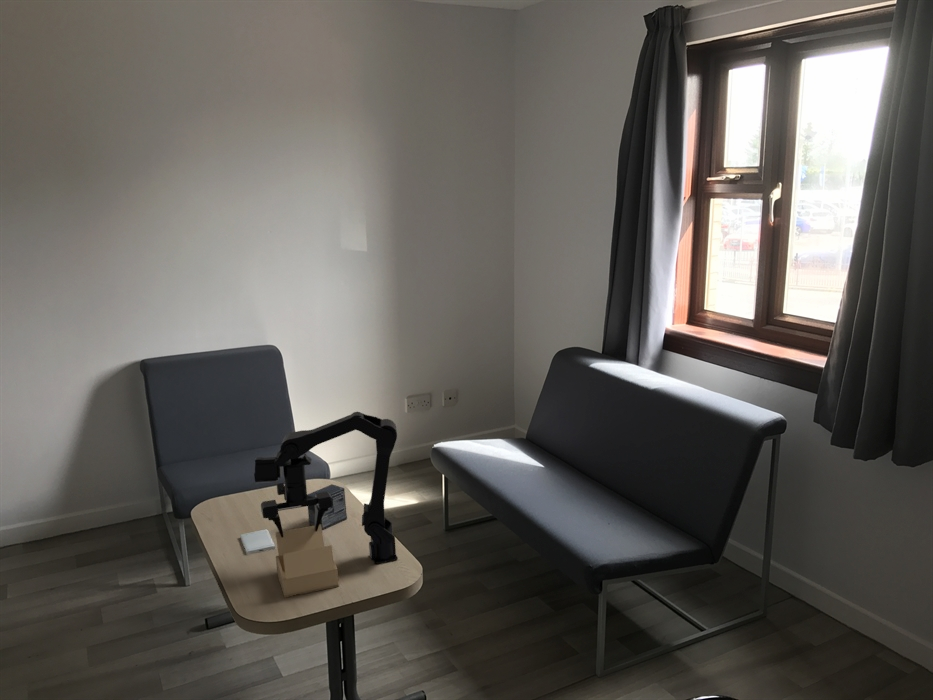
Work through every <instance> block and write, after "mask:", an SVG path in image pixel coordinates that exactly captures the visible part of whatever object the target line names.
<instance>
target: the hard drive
mask: <svg viewBox="0 0 933 700" xmlns="http://www.w3.org/2000/svg"><path fill="white" fill-rule="evenodd" d="M240 540H241V542H242V545H243V549H244V548H245V549H244V551H245V554H246V555H247V554H249V555H253V554H257V553H261V552H267V551H266V550H268V551H272V550H276V549H275V548H276V544H275V543H274V540H273V538H272V536H271V533H270V532H269V530H268V529H261V530H255V531H252V532H247V533H242V534H240ZM271 549H272V550H271Z"/></svg>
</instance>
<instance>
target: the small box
mask: <svg viewBox="0 0 933 700" xmlns="http://www.w3.org/2000/svg"><path fill="white" fill-rule="evenodd" d="M321 492H329V493H330V495H331V497H332V500H333V507H331V508H328V511H325V513H324V515H323V517H322V519H321V521H320V524H321V528H322V531H325V530H326V529H328V528H330V527H333V526H335V525H337V524H339V523H342V522H344V521H345V520H347V519H348V515H347V506H346V505H347V504H346V492H345V487H342V486H339V485H336V484H330V485H326V486H324V487H322V488H320V489H317V490H315V491H313V492H310V493H307V499H310V498H315V493H321ZM307 512H308V513H307V515H308V523H309V526H315V505H311V506H307ZM320 524H319V525H320ZM309 526H308V527H309Z"/></svg>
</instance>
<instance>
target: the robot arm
mask: <svg viewBox="0 0 933 700" xmlns="http://www.w3.org/2000/svg"><path fill="white" fill-rule="evenodd" d="M397 430H398V429H397V425H396V423H395V422H394V421H393V420H391V419H389V418H383V419H382V418H379V417H378V416H373V415H369V414H366V413H365V414H364V413H363V412H360V411H354V412H352V413H351V414H349V415H346V416H343V417H341V418H338V419H336V420H334V421H331V422H329V423H326V424H323V425H321V426H317V427H315V428H313V429H308V430H297V431H293V432H289V433H287V434H285V436H284V437H283V439H282V442H281V444H280V450H278V452H277V454H276V456H271V457H262V456H260V457H259V456H258V457H255V460H254V463H255V465H254V473H253V476H254V477H253V479H254V482H255V484H264V483H265V484H266V483H276V493H277V495H278V496H282V495H283V497H284V499H283V500H284V501H285V502H279V503H277V501H276V499H272V500H265V501H262V502H261V504H260V512H261V515H262V518H263V519H267V520H268V521H272V522H273V523H274V525H275V526H276V528H277V530H278V532H280V535H281V537H283V531H284V530H283V528H282V522H281V518H280V513H279V512H280V511H285V510H286V511H287V510H292V509H298V508H304V507H308V506H311V505H315V531H317V530H318V527H319V524H320V521H321V519H322V517H323V515H324V513H325V511H328V508H331V507H333V500H332V497H331V495H330V493H329V492H321V493H315V498H310V499H307V494H308V493H307V492H308V491H307V489H308V488H307V479H306V477H307V476H306V466H309V465H312V460H313V459H312V458H311V457H310V456H308V455H307V453H308V452H309V451H310V450H312V449H313V448H315V447H316V446H318V445H320V444H322V443H326V442H329V441H330V440H333V439H336V438H338V437H341V436H345V435H346V434H348V433H351V432H354V431H358V432H360V433H362V434H364V435H366V436H367V437H369V438H370V439H373V440H375V445H376V446H375V448H376V449H375V450H376V455H375V456H376V457H375V464H374V472H373V478H372V479H373V480H372V489H371V495H370V500H369V503H363V513H362V515H361V526H362V527H363V530H364V533H365V534H367V535H368V536H369V537H370V541H369V542H368V548H369V550H368V552H369V557H370V559H371V560H372V561H373V563H374V564H375V565H377V564H383V563H387V562H392V561H396V560H398V556H397V553H396V550H397V548H396V537H395V534H394V527H393V523H392V522H391V520H389V519H388V518H387V517H385V498H386V497H385V496H386V490H387V489H386V488H387V483H388V474H389V466H390V458H391V455H392V452H393V450H394V448H395V445H396V442H397V439H398V431H397ZM282 475H283V479H284V480H283V482H281V483H277V482H278V481H279V479H281V478H282Z"/></svg>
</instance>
